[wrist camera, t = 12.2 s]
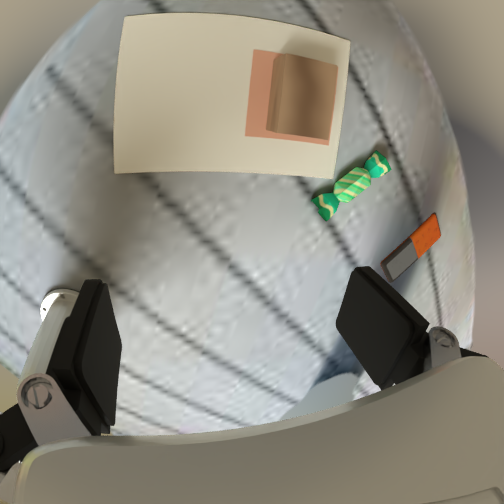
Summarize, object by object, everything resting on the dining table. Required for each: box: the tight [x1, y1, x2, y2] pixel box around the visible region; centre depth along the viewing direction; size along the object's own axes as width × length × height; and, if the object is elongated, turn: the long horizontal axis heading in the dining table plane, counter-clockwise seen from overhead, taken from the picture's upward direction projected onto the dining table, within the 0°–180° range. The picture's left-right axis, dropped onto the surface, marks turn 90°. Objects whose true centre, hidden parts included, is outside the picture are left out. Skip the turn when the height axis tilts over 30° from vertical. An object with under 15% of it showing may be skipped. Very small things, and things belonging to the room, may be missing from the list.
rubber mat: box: [114, 13, 350, 179], centre depth 28 cm, size 20×28×1 cm
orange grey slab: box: [380, 214, 441, 282], centre depth 46 cm, size 6×1×15 cm
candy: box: [311, 150, 391, 221], centre depth 35 cm, size 12×3×4 cm
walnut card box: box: [266, 53, 338, 140], centre depth 27 cm, size 6×9×4 cm, turn 174°
